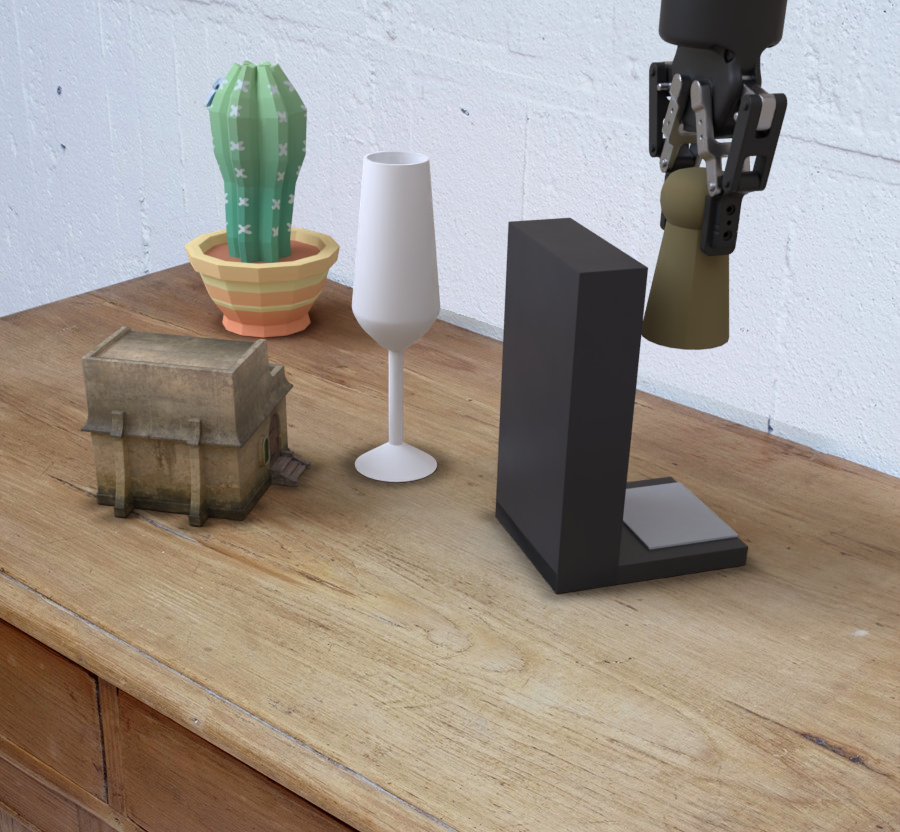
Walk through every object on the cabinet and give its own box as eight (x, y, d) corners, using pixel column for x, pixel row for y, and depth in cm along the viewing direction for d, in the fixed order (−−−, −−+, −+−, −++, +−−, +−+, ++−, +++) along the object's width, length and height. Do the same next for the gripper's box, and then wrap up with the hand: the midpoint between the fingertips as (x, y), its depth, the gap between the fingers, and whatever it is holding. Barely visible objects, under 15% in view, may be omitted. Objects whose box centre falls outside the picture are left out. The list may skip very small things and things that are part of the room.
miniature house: (263, 534, 95) (254, 385, 89) (82, 512, 98) (62, 366, 92) (321, 451, 108) (317, 316, 102) (160, 434, 110) (147, 301, 104)
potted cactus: (342, 299, 143) (336, 52, 130) (341, 348, 129) (335, 78, 117) (198, 299, 142) (179, 50, 129) (182, 348, 128) (159, 76, 116)
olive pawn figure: (656, 315, 94) (673, 155, 88) (739, 329, 91) (762, 166, 86) (628, 340, 89) (643, 173, 83) (714, 355, 87) (737, 185, 81)
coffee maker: (669, 493, 103) (702, 208, 91) (745, 565, 93) (794, 256, 82) (495, 516, 98) (508, 221, 87) (556, 594, 89) (579, 272, 78)
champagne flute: (371, 442, 110) (369, 144, 98) (448, 454, 108) (455, 152, 96) (341, 474, 104) (334, 163, 92) (421, 487, 103) (425, 171, 90)
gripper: (850, -31, 73) (802, 269, 82) (726, -53, 85) (696, 212, 94) (731, -31, 71) (695, 277, 80) (620, -53, 83) (599, 218, 92)
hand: (695, 240), depth 87 cm, fingers closed on olive pawn figure, 5 cm apart
